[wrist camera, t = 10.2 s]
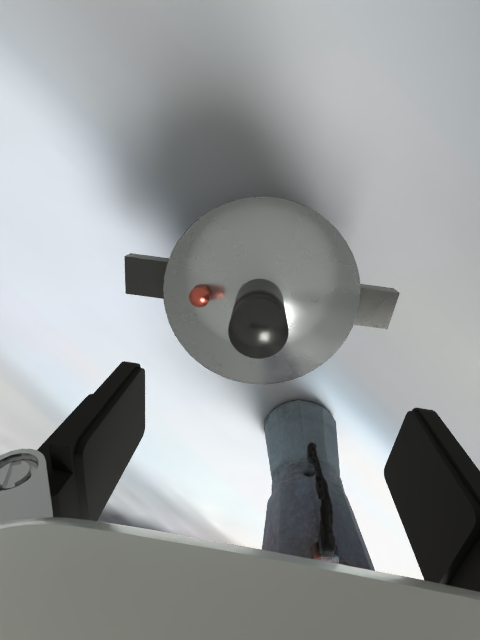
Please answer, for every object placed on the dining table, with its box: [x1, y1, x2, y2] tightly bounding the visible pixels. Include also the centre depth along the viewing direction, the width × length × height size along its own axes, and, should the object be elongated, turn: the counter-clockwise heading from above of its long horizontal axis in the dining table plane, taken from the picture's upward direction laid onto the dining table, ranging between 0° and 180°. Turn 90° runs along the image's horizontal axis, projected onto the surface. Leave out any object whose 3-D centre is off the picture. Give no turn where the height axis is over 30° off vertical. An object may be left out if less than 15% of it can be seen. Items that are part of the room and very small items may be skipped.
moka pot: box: [262, 400, 375, 571], centre depth 30 cm, size 10×15×20 cm, turn 6°
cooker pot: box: [125, 253, 399, 329], centre depth 27 cm, size 21×13×9 cm, turn 83°
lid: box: [163, 196, 360, 384], centre depth 20 cm, size 14×14×6 cm
